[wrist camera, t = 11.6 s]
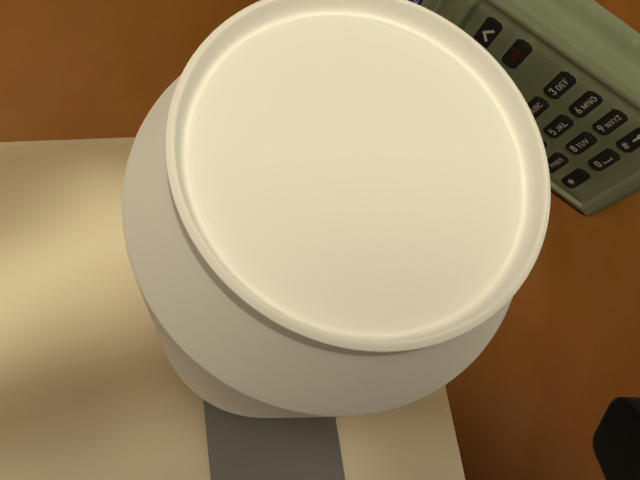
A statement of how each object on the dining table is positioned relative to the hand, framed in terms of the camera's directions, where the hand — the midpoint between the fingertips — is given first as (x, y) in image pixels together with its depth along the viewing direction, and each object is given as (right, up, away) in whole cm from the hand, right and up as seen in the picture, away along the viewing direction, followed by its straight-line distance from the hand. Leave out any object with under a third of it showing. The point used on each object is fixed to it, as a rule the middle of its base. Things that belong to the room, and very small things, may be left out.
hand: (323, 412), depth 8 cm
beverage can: (-2, 0, +10) cm, 11 cm away
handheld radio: (+2, +11, +17) cm, 21 cm away
